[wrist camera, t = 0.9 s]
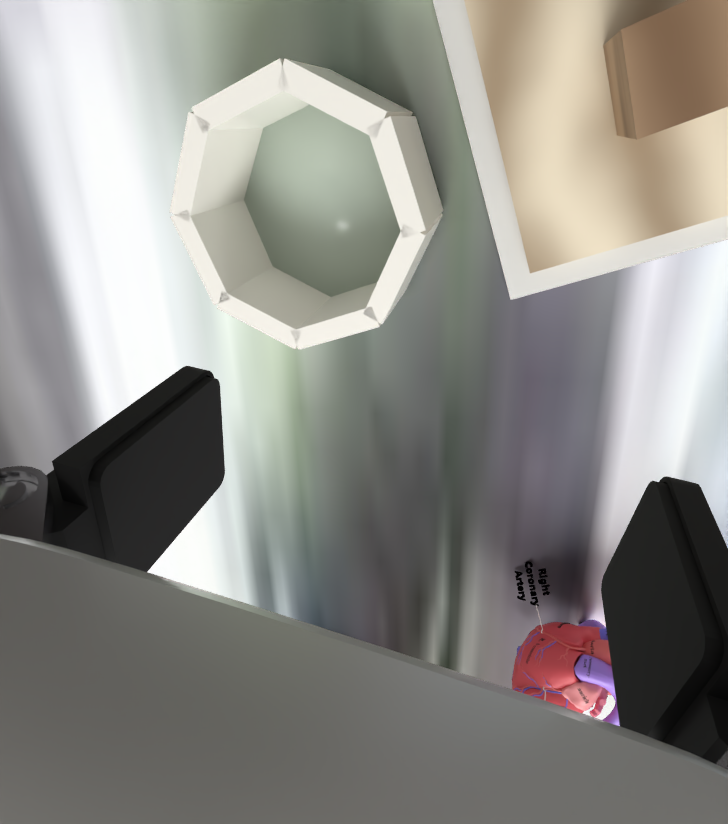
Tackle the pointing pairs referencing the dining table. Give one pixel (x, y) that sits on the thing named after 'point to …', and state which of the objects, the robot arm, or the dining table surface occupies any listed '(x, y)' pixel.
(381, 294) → the ceramic bowl
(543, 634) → the heart model
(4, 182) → the dining table surface
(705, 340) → the dining table surface
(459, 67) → the grey mat
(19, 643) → the robot arm
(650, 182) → the birch lid
